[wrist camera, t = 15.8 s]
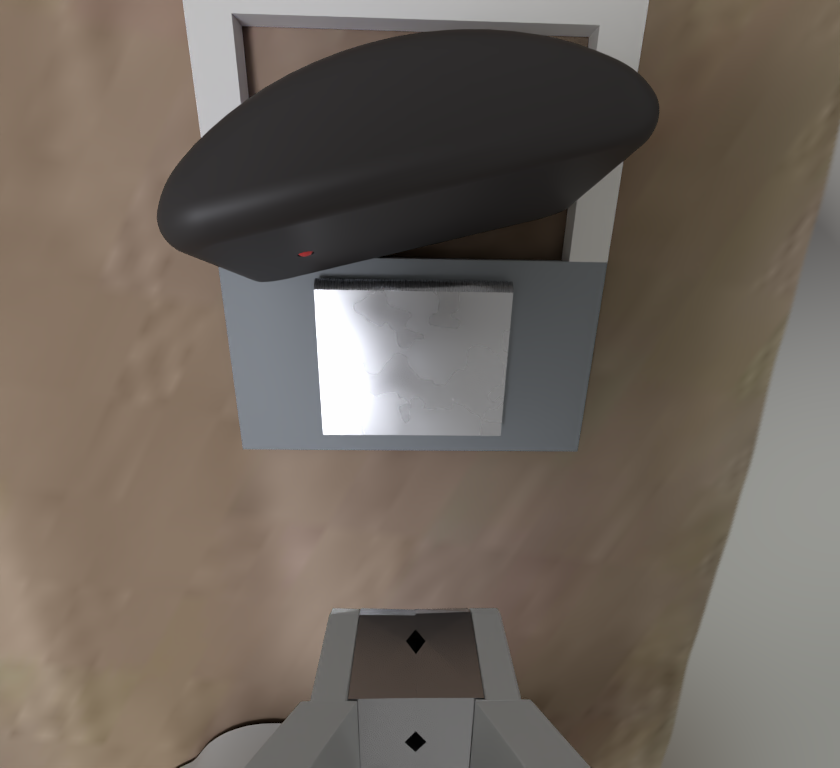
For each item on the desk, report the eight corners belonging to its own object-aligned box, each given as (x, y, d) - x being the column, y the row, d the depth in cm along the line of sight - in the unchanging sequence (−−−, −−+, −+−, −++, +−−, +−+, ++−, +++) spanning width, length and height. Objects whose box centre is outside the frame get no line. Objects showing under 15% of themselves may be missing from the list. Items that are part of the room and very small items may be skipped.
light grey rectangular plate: (497, 428, 25) (500, 435, 24) (326, 427, 25) (323, 434, 24) (509, 280, 22) (514, 282, 21) (317, 277, 22) (313, 279, 21)
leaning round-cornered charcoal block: (549, 125, 21) (660, -46, 12) (567, 217, 22) (687, 123, 12) (234, 200, 21) (96, 89, 12) (259, 291, 22) (144, 252, 12)
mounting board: (570, 442, 27) (577, 451, 26) (250, 439, 26) (242, 449, 25) (637, -2, 19) (651, -17, 18) (192, -17, 19) (178, -33, 18)
